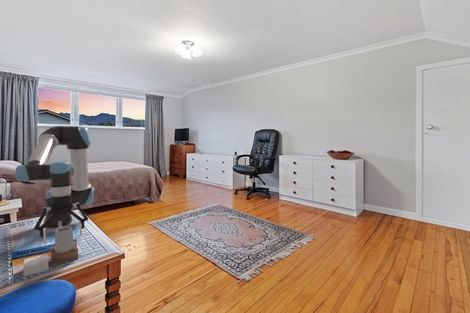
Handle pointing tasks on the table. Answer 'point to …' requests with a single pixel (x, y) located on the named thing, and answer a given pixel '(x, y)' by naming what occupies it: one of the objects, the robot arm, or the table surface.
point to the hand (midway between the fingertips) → (63, 239)
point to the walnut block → (64, 255)
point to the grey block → (35, 264)
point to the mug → (63, 238)
